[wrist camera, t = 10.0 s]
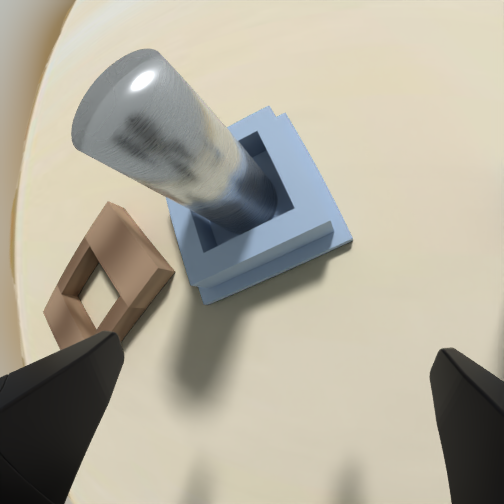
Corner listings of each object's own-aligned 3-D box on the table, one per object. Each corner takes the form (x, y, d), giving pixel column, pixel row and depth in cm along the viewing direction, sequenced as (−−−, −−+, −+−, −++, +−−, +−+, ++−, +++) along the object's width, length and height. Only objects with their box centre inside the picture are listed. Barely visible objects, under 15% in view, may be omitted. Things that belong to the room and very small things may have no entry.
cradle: (352, 240, 17) (351, 227, 14) (208, 304, 20) (183, 303, 17) (287, 117, 20) (275, 92, 17) (171, 181, 23) (147, 166, 20)
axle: (271, 238, 18) (134, 145, 7) (210, 231, 20) (57, 157, 9) (282, 173, 19) (180, 36, 8) (223, 171, 20) (98, 65, 9)
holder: (175, 271, 21) (158, 268, 19) (94, 378, 22) (77, 381, 20) (124, 208, 24) (107, 201, 22) (58, 312, 25) (43, 311, 23)
